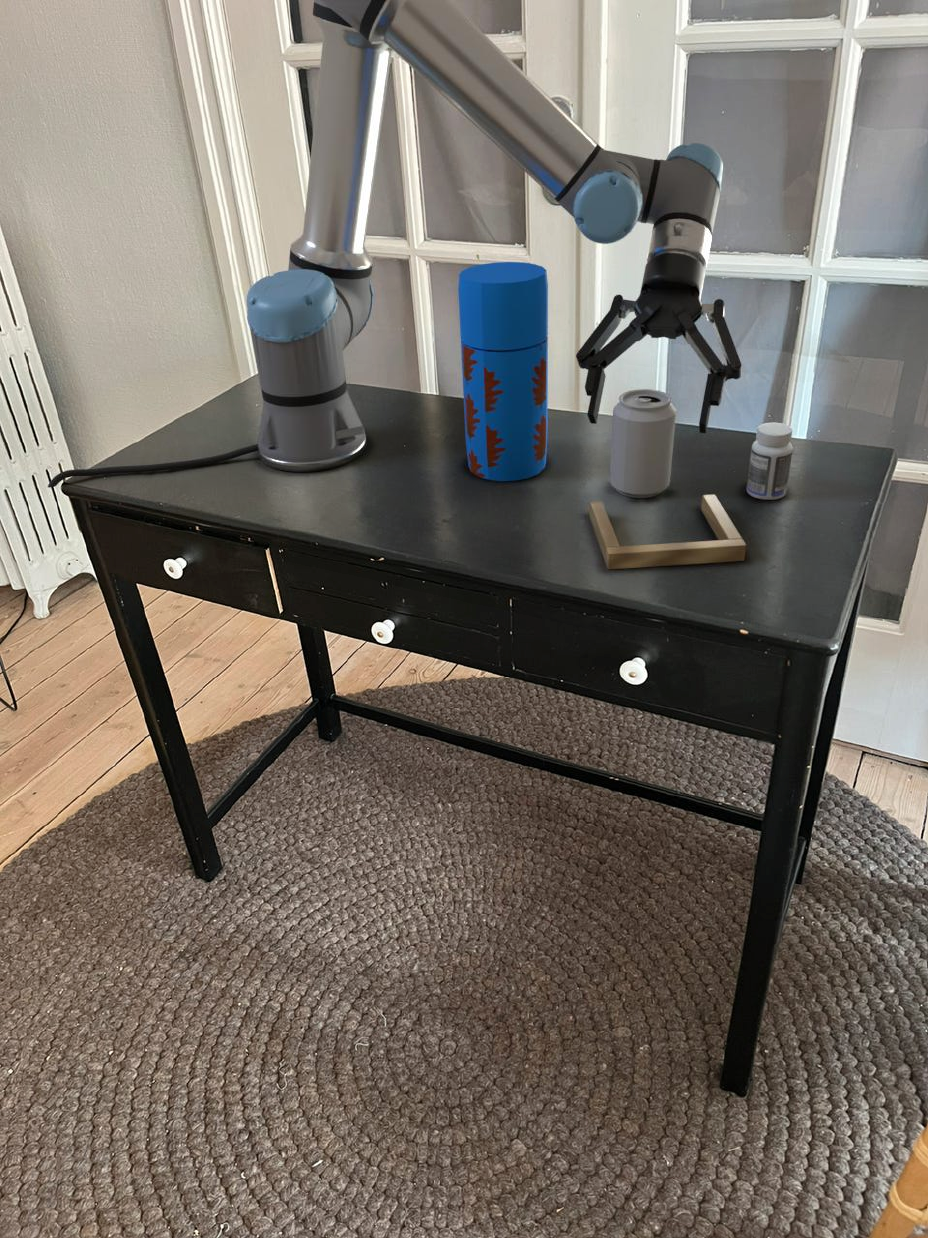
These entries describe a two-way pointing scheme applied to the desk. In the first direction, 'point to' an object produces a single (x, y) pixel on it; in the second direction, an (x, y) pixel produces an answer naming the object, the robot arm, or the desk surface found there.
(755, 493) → the pill bottle
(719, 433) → the desk surface
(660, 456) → the can
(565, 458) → the desk surface
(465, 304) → the thermos
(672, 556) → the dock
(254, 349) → the robot arm
